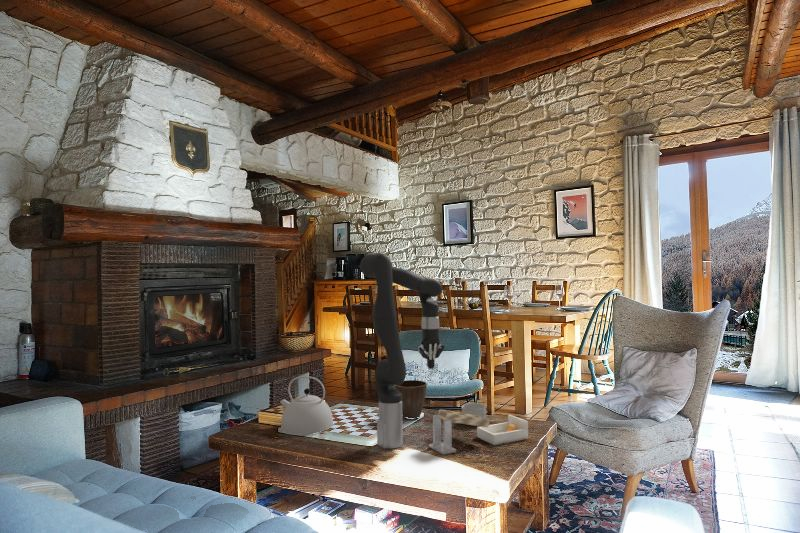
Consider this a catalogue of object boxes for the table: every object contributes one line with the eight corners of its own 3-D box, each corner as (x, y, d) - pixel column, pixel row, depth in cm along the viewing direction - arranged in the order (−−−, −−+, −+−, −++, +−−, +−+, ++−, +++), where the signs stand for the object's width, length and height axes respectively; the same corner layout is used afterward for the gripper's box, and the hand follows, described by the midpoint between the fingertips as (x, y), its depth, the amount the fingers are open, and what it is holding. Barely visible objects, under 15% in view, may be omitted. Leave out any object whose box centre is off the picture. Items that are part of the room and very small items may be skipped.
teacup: (487, 426, 226) (487, 408, 226) (462, 427, 227) (462, 408, 227) (483, 418, 240) (483, 400, 240) (459, 418, 240) (459, 400, 241)
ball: (513, 423, 211) (520, 428, 212) (507, 421, 215) (513, 425, 216) (509, 433, 210) (516, 437, 211) (503, 430, 214) (509, 434, 215)
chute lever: (445, 421, 195) (447, 413, 196) (426, 411, 209) (427, 404, 209) (488, 427, 204) (489, 419, 204) (466, 418, 217) (467, 411, 218)
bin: (494, 445, 202) (494, 427, 202) (477, 437, 212) (476, 419, 212) (528, 438, 209) (528, 421, 210) (509, 431, 220) (509, 414, 220)
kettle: (266, 432, 222) (265, 379, 223) (292, 418, 244) (292, 370, 244) (319, 437, 215) (318, 382, 215) (341, 422, 236) (341, 372, 237)
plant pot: (412, 424, 231) (412, 388, 231) (388, 418, 241) (388, 383, 241) (433, 417, 242) (433, 382, 243) (409, 411, 252) (409, 378, 253)
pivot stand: (442, 454, 192) (442, 422, 192) (429, 446, 201) (428, 415, 201) (456, 452, 195) (455, 419, 195) (442, 444, 204) (441, 413, 204)
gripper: (421, 329, 213) (421, 371, 213) (448, 327, 219) (449, 368, 219) (412, 327, 220) (412, 368, 220) (439, 325, 226) (439, 365, 226)
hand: (431, 368), depth 219 cm, fingers closed
